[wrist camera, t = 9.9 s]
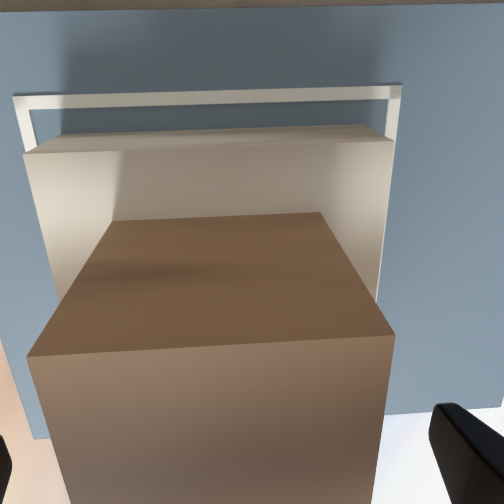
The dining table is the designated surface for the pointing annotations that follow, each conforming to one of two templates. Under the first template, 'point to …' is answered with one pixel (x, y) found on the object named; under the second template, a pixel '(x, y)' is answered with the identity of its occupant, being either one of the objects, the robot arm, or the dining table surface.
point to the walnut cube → (216, 366)
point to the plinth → (211, 184)
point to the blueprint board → (286, 115)
